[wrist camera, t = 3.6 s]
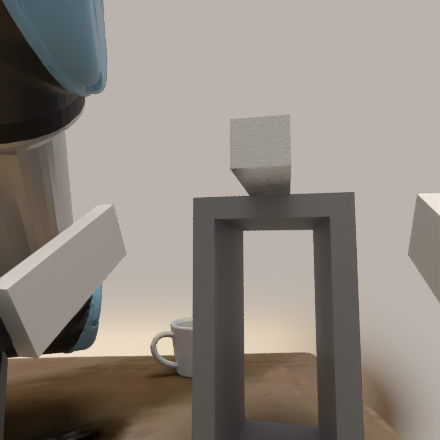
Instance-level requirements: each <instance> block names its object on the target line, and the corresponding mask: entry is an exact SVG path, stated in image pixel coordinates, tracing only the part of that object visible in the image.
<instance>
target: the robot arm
mask: <svg viewBox="0 0 440 440" xmlns="http://www.w3.org/2000/svg"><path fill="white" fill-rule="evenodd" d="M106 81H107V50H106V39H105V25H104V6H103V0H0V440H3V437H4V419H5V401H6V383H7V365H8V359H7V358H11V357H32V358H39V356H41V355H42V354H52V353H72V352H73V351H78V350H84V349H87V348H89V347H90V346H91V345H92V344H93V343H94V341H95V339H96V335H97V331H98V324H99V321H98V320H99V317H100V310H101V299H102V282H103V281H104V280H105V279H106V278H107V276H108V275H109V274H110V273H111V272H112V270H113V269H114V268H115V267H116V266H117V265H118V263H119V262H120V261H121V260H122V259H123V257H124V256H125V255H126V251H125V247H124V243H123V240H122V236H121V232H120V228H119V224H118V220H117V217H116V213H115V209H114V205H113V204H107V205H98V206H97V207H95V208H94V209H93V210H91V211H90V212H88V213H87V214H86V215H85V216H83V217H82V218H80V219H79V220H78V221H76V222H75V223H74V224H73V216H72V205H71V194H70V183H69V172H68V160H67V150H66V139H65V130H66V129H68V128H69V127H70V126H71V125H73V124H74V123H75V122H76V121H77V120H78V118H79V117H80V116H81V114H82V112H83V109H84V106H85V97H87V96H90V95H91V94H98V93H100V92H102V91H103V90H104V88H105V86H106ZM408 255H409V257H410V258H411V260H412V261H413V263H414V264H415V266H416V268H417V269H418V271H419V272H420V274H421V275H422V277H423V278H424V280H425V281H426V283H427V284H428V286H429V287H430V289H431V290H432V292H433V293H434V295H435V297H436V298H437V300H438V301H439V303H440V194H439V193H431V194H417V199H416V205H415V212H414V218H413V225H412V232H411V238H410V245H409V251H408Z"/></svg>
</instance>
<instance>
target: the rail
mask: <svg viewBox="0 0 440 440" xmlns="http://www.w3.org/2000/svg"><path fill="white" fill-rule="evenodd" d="M230 169H231V170H232V172H233V173H234V174H235V176H236V177H237V179H238V180H239V181H240V183H241V184H242V186H243V187H244V188H245V190H246V191H247V193H248V194H249V195H250V196H260V195H288V194H290V179H291V146H290V115H278V116H266V117H255V118H243V119H231V120H230Z"/></svg>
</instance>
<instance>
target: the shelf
mask: <svg viewBox="0 0 440 440" xmlns="http://www.w3.org/2000/svg"><path fill="white" fill-rule="evenodd" d="M355 224H356V223H355V201H354V192H344V193H317V194H288V195H260V196H233V197H205V198H193V359H192V440H364V425H363V400H362V375H361V351H360V350H361V349H360V326H359V299H358V274H357V250H356V249H357V248H356V225H355ZM251 230H313V242H314V274H315V275H314V276H315V277H314V278H315V311H316V312H315V313H316V349H317V386H318V422H319V427H316V426H307V425H298V424H288V423H279V422H269V421H260V420H251V419H245V408H244V298H243V297H244V292H243V291H244V286H243V231H251Z"/></svg>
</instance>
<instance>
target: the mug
mask: <svg viewBox="0 0 440 440" xmlns="http://www.w3.org/2000/svg"><path fill="white" fill-rule="evenodd" d="M162 337H171V338H172V340H173V347H174V355H175V362H171V361H168V360H166V359H164V358H162V357H161V356H160V355H159V354H158V352H157V350H156V344H157V342H158V340H159V339H161V338H162ZM150 347H151V353H152V355H153V357H154V358H155V360H156V361H157V362H159V363H160V364H162V365H164V366H166V367H170V368H176V369H177V372H178V374H179V375H181V376H184V377H188V378H192V359H193V317H191V318H183V319H178V320H175V321H173V322H172V323H171V331H164V332H161V333H159V334H157V335H156V336H155V337H154V338H153V341H152V343H151V345H150Z"/></svg>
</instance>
